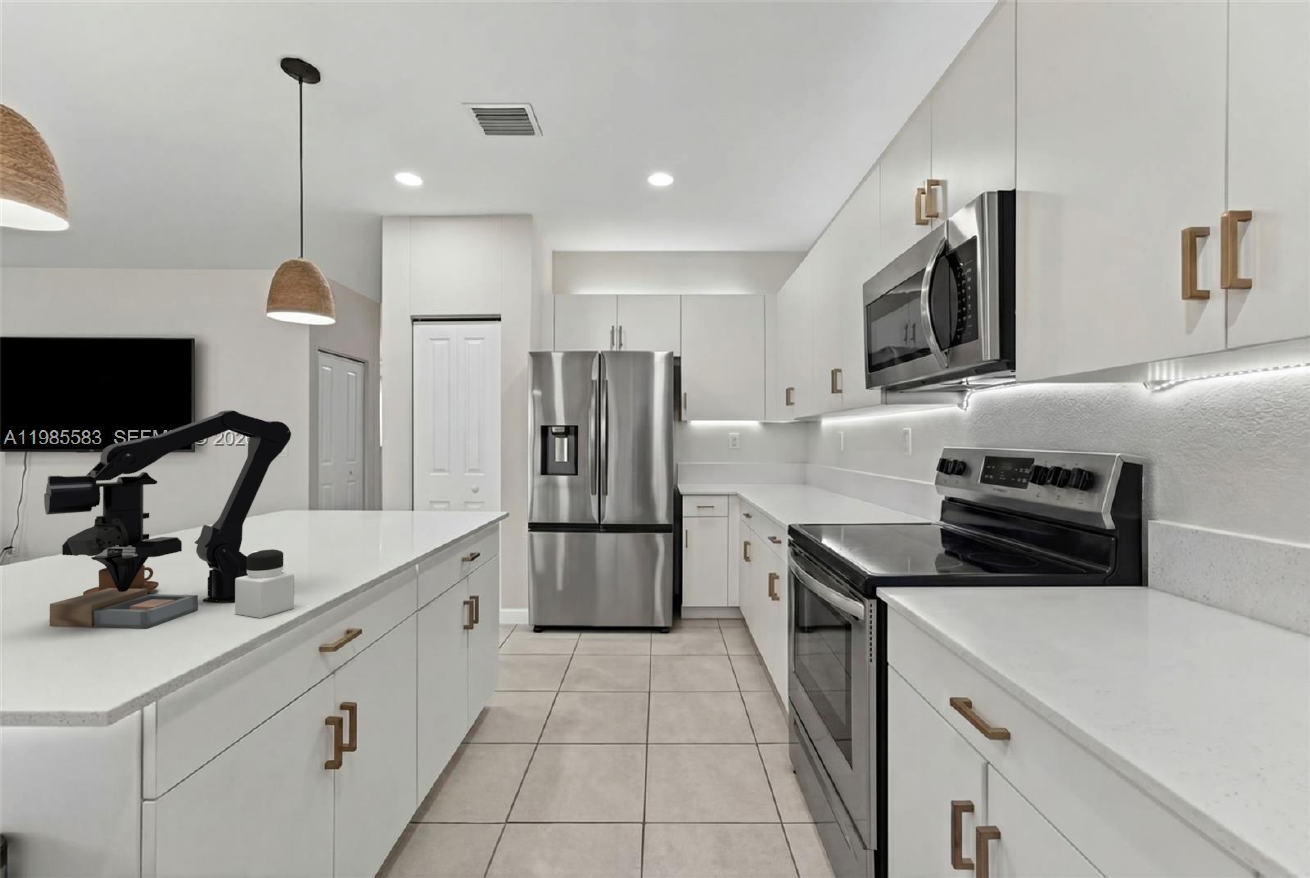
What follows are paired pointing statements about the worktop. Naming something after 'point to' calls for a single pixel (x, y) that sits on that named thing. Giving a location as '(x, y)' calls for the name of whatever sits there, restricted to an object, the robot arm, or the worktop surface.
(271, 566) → the medicine bottle
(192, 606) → the box
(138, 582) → the cup and saucer
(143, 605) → the tile
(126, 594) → the tan wooden board
